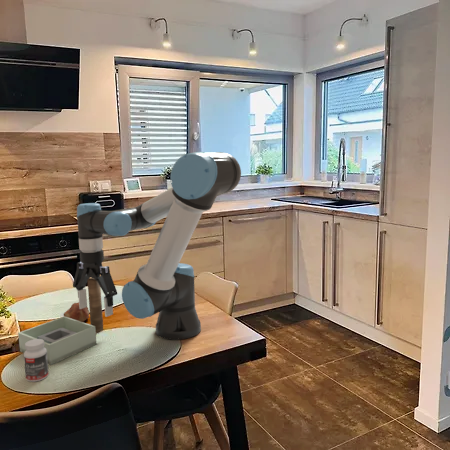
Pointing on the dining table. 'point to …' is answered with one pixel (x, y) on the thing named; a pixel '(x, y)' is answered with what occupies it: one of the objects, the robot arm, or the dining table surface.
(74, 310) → the fossil
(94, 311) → the peg
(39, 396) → the dining table surface
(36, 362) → the pill bottle
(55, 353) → the bin
